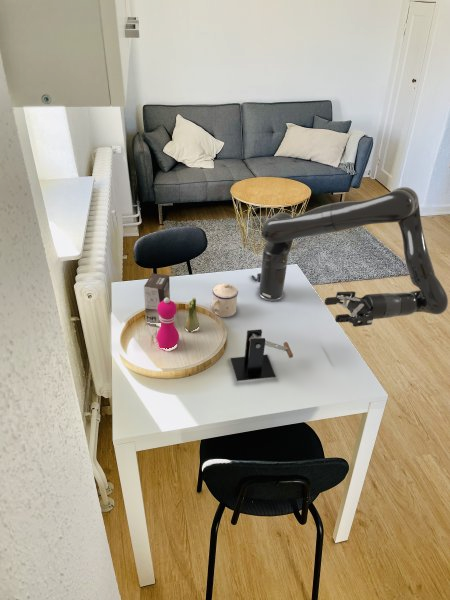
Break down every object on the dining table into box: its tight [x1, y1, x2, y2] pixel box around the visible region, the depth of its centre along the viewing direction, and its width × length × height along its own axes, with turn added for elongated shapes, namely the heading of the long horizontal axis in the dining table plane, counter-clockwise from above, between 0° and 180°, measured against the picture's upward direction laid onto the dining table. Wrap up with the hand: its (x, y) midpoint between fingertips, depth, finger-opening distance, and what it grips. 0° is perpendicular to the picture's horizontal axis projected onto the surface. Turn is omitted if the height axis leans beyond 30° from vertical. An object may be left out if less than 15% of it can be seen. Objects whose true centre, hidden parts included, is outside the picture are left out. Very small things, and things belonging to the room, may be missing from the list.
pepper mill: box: [156, 297, 180, 349], centre depth 143 cm, size 7×7×20 cm
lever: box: [249, 334, 294, 359], centre depth 137 cm, size 14×6×2 cm, turn 102°
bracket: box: [230, 328, 276, 382], centre depth 138 cm, size 12×10×14 cm
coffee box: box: [143, 272, 171, 327], centre depth 157 cm, size 9×6×16 cm
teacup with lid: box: [210, 282, 239, 318], centre depth 163 cm, size 12×9×12 cm
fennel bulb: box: [184, 297, 200, 331], centre depth 153 cm, size 6×5×12 cm
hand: (330, 309), depth 134 cm, fingers open, 8 cm apart
